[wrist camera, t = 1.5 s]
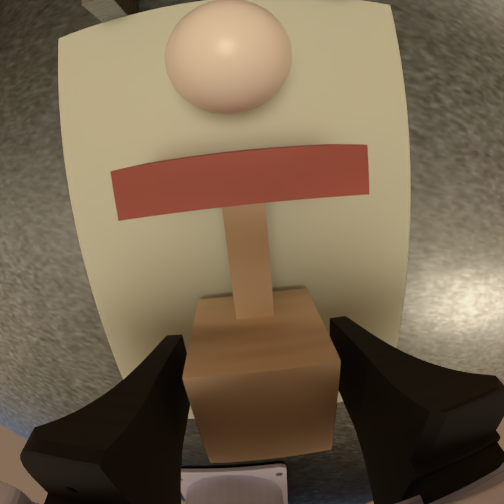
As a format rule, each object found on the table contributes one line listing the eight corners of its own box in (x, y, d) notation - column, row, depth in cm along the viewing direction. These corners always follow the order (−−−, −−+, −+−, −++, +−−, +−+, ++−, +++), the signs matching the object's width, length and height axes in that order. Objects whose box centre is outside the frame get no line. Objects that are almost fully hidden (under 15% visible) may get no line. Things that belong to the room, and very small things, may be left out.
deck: (378, 373, 16) (388, 391, 15) (145, 399, 16) (140, 418, 14) (375, 16, 10) (389, 5, 9) (74, 47, 10) (58, 38, 8)
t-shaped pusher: (330, 367, 13) (360, 442, 9) (192, 382, 13) (181, 463, 9) (327, 143, 10) (385, 145, 6) (147, 162, 10) (93, 175, 6)
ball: (287, 114, 10) (311, 100, 7) (181, 125, 10) (156, 116, 7) (276, 21, 9) (293, -25, 6) (173, 32, 9) (149, -11, 6)
